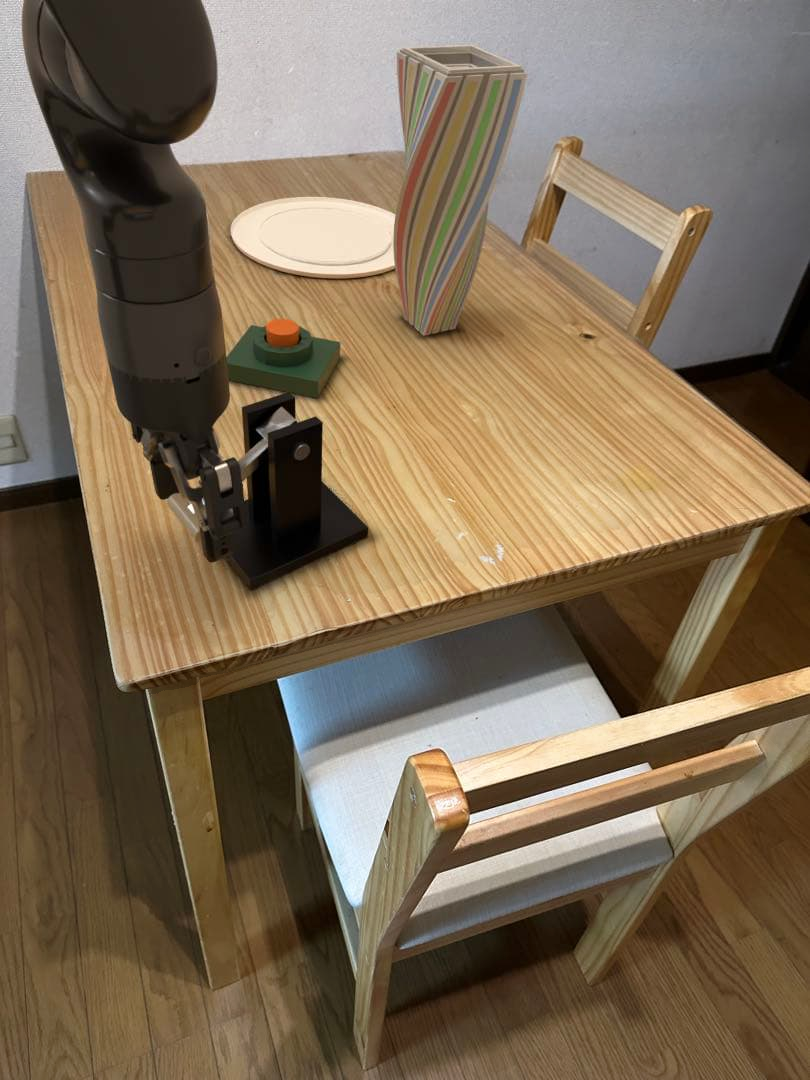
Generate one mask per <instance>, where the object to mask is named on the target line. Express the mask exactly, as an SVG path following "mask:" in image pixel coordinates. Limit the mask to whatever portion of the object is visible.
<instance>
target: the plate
mask: <svg viewBox="0 0 810 1080" xmlns="http://www.w3.org/2000/svg"><path fill="white" fill-rule="evenodd" d="M395 216H396V213H393V212H391V211H389V210H386V209H384V208H381V207H378V206H375V205H372V204H369V203H365V202H361V201H356V200H351V199H345V198H338V197H329V196H327V197H326V196H297V197H295V196H294V197H285V198H278V199H273V200H269V201H264V202H261V203H259V204H256V205H253V206H251V207H249V208H246V209H245V210H243V211H241V212H240V213H239V214H237V216H236V217H235V218H234V219H233V221H232V222H231V224H230V231H229V232H230V236H231V238H232V242H233V243H234V245H235V246H236V248H237V249H238V250H239V251H240V252H241V253H242V254H243V255H245V256H246V257H247V258H249V259H251V260H252V261H255V262H256V263H258V264H260V265H263V266H264V267H267V268H270V269H274V270H276V271H280V272H283V273H286V274H287V273H288V274H291V275H296V276H302V277H303V276H304V277H309V278H319V279H355V278H364V277H371V276H375V275H379V274H384V273H387V272H390V271H392V270H395V263H394V247H393V238H394V223H395Z"/></svg>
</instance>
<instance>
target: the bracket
mask: <svg viewBox="0 0 810 1080" xmlns="http://www.w3.org/2000/svg"><path fill="white" fill-rule="evenodd" d="M280 407H283V408H284V409H285V410H286V411H287V412H288V413H289V414H290V415H291V416H292V417H293V418H294V419H295V420H296V421H297V419H296V418H297V417H296V416H297V414H296V396H295V395H293V393H290V392H284V393H281V394H278V395H274V396H272V397H269V398H266V399H261V400H259V401H257V402H253V403H250V404H246V405H244V406H241V417H242V418H241V419H242V420H241V421H242V433H243V446H244V448H243V449H244V455H245V454H246V453H247V452H248V451H250V450H251V449H252V448H253V447H254V446H255V445H256V444H257V443H258V442H260V441H261V440H262V439H263V438H262V437H261V435H260V434H259V433H258V432H257V431H256V429H257V428H258V427H259V426H260V425H261V424H263V423H264V422H265V421H266V420H267V419H268V418H269V417H270V416H271V415H272V414H274V413H275V412H276V411H277V410H278V409H279V408H280ZM297 422H298V423H295V424H292V425H289V426H286V427H283V428H280V429H278V430H275V431H272V432H269V433H267V435H268V459H267V460H266V461H265V462H264V463H263V464H261V465H260V466H259V467H258V468H257V469H256V470H255V471H254V472H253V473H252V474H250V475H249V476H248V477H247V478H246V490H247V499H244V501H245V509H246V517H247V528H244V529H242V530H238V531H236V532H233V533H232V536H233V545H234V551H233V553H232V554H231V555H230V556H228V557H225V558H224V559H225V560H226V561H227V563H229V565H230V566H231V567H232V568H233V570H234V571H235V572H236V573H237V574H238V576H239V577H240V578H241V579H242V581H243V582H244V583H245V584H246V586H247V587H248V589H250V590H254V589H256V588H259V587H261V586H263V585H265V584H267V583H269V582H272V581H274V580H277V579H278V578H281V577H283V576H285V575H287V574H289V573H291V572H294V571H296V570H298V569H300V568H303V567H304V566H307V565H309V564H312V563H314V562H316V561H318V560H320V559H322V558H324V557H327V556H329V555H331V554H333V553H336V552H337V551H340V550H342V549H344V548H346V547H349V546H351V545H353V544H355V543H357V542H359V541H360V542H361V541H362V540H364V539H366V538H368V536H369V527H368V525H367V524H366V523H365V522H363V520H362V519H360V517H358V515H357V514H356V513H355V512H354V511H352V510H351V508H349V507H348V506H347V505H346V504H345V502H344V501H343V500H341V498H340V497H339V496H337V494H336V493H334V492H333V490H331V488H330V487H328V486H327V484H325V483H324V482H323V478H322V477H323V432H324V431H323V430H324V427H323V425H324V424H323V421H322V420H321V419H320V418H319V417H318V416H315V415H314V416H312V417H310V418H306V419H304V420H300V421H297Z"/></svg>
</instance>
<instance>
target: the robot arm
mask: <svg viewBox="0 0 810 1080" xmlns="http://www.w3.org/2000/svg"><path fill="white" fill-rule="evenodd" d="M22 2H23V3H22V9H21V38H22V45H23V46H22V47H23V52H24V53H23V54H24V57H25V63H26V67H27V71H28V75H29V78H30V83H31V85H32V89H33V91H34V95H35V97H36V100H37V101H36V102H37V104H38V106H39V110H40V112H41V114H42V117H43V119H44V122H45V124H46V127H47V129H48V132H49V136H50V137H51V140H52V142H53V145H54V148H55V150H56V153H57V155H58V158H59V160H60V164H61V166H62V168H63V170H64V172H65V174H66V177H67V179H68V181H69V183H70V186H71V187H72V190H73V192H74V195H75V197H76V200H77V202H78V206H79V208H80V213H81V219H82V227H83V232H84V236H85V241H86V242H85V243H86V247H87V252H88V255H89V260H90V266H91V270H92V274H93V279H94V283H95V291H96V306H97V316H98V323H99V327H100V332H101V336H102V340H103V345H104V349H105V354H106V360H107V364H108V368H109V373H110V378H111V382H112V387H113V391H114V395H115V400H116V405H117V408H118V410H119V412H120V414H121V415H122V417H124V419H125V420H127V421H128V422H129V423H130V427H131V432H132V433H131V435H132V438H133V439H134V440H135V442H136V443H137V444H139V443H140V444H141V445H142V454H143V457H144V458H145V459H146V460H147V461H148V462H149V466H150V472H151V476H152V477H151V478H152V481H153V487H154V492H155V495H156V496H157V497H158V498H159V499H160V500H163V501H164V500H165V501H166V500H168V498H169V497H170V496H171V495H172V494H175V493H180V495H181V497H182V499H183V500H184V501H186V502H188V503H189V504H192V506H193V509H194V511H195V514H196V517H197V519H198V524H199V528H200V535H201V541H202V543H201V547H202V554H203V557H204V558H205V560H206V561H207V562H208V563H210V564H213V563H216V562H219V561H221V560H223V559H226V558H225V557H228V556H230V555H231V554H232V553H233V551H234V545H233V536H232V533H233V532H236V531H238V530H242V529H244V528H247V517H246V509H245V494H244V485H243V482H242V477H241V469H240V464H239V463H238V461H239V460H237V458H236V457H234V456H233V457H230V458H227V459H223V458H222V455H221V453H220V448H221V443H220V441H219V438H218V435H217V433H216V431H215V428H214V426H215V424H216V422H217V421H218V419H219V418H220V417H221V416H222V415H223V414H224V413H225V411H226V410H227V408H228V406H229V404H230V399H231V392H230V391H231V390H230V382H229V381H230V380H228V369H227V359H226V357H227V349H226V341H225V330H224V328H225V327H224V319H223V310H222V305H221V300H220V297H219V293H218V288H217V284H216V277H215V270H214V259H213V250H212V241H211V232H210V231H211V230H210V222H209V215H208V208H207V204H206V201H205V198H204V195H203V193H202V190H201V188H200V187H199V185H198V184H197V182H196V181H195V180H194V179H193V178H192V176H191V175H190V174H189V173H188V172H187V171H186V170H185V169H184V167H182V165H181V164H180V162H179V161H178V160H177V158H176V155H175V153H174V152H173V149H172V146H171V145H172V144H176V143H180V142H183V141H184V140H186V139H188V138H190V137H191V136H193V135H194V134H195V133H197V132H198V131H199V130H200V129H201V128H202V126H203V125H204V124H205V122H206V120H207V119H208V117H209V115H210V113H211V111H212V108H213V106H214V103H215V99H216V96H217V90H218V82H219V81H218V79H219V68H218V66H219V65H218V63H219V62H218V56H217V55H218V54H217V48H216V43H215V38H214V33H213V29H212V27H211V23H210V18H209V16H208V14H207V11H206V9H205V6H204V3H203V0H23V1H22ZM197 478H199V479H198V484H199V486H197V487H194V488H193V487H192V486H191V485H190V484H189V481H190V480H194V479H197ZM203 498H204V503H205V507H204V505H203V502H202V499H203ZM205 509H206V510H205Z"/></svg>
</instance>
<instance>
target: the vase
mask: <svg viewBox="0 0 810 1080" xmlns="http://www.w3.org/2000/svg"><path fill="white" fill-rule="evenodd" d="M522 67H523V66H522V65H520V64H517V63H515V62H513V61H510V60H509V59H506V58H504V57H501V56H499V55H496V54H494V53H492V52H490V51H487V50H486V49H483V48H481V47H478V46H476V45H473V44H459V45H434V46H433V45H432V46H431V45H430V46H429V45H428V46H404V47H402V48H401V49H399V51H396V76H397V89H398V101H399V103H398V104H399V112H400V121H401V127H402V134H403V135H402V136H403V141H404V153H405V155H404V174H403V180H402V183H401V188H400V192H399V196H398V201H397V204H396V210H395V215H396V216H395V223H394V238H393V247H394V263H395V269H394V270H395V277H396V281H397V282H396V283H397V288H398V292H399V296H400V302H401V305H402V306H401V307H402V313H403V314H402V315H403V319H404V320H405V321H406V322H408V323H409V325H411V326H412V327H414V329H416V330H417V331H418V332H419V333H420V334H421V336H429V335H433V334H437V333H440V332H446V331H451V330H456V328H457V325H458V322H459V318H460V316H461V314H462V310H463V308H464V306H465V303H466V301H467V298H468V295H469V293H470V291H471V288H472V285H473V282H474V279H475V275H476V272H477V270H478V266H479V261H480V258H481V254H482V251H483V246H484V240H485V235H486V230H487V222H488V213H489V203H490V202H489V201H490V198H491V196H492V194H493V191H494V189H495V187H496V184H497V181H498V179H499V176H500V174H501V170H502V167H503V164H504V161H505V159H506V155H507V152H508V149H509V146H510V142H511V140H512V136H513V133H514V128H515V125H516V121H517V118H518V114H519V110H520V107H521V103H522V100H523V94H524V90H525V86H526V81H527V76H528V73H527V72H525V69H524V68H522Z"/></svg>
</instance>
